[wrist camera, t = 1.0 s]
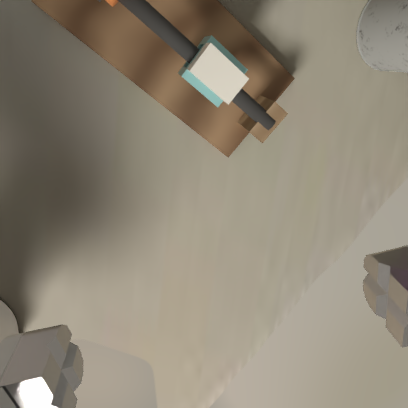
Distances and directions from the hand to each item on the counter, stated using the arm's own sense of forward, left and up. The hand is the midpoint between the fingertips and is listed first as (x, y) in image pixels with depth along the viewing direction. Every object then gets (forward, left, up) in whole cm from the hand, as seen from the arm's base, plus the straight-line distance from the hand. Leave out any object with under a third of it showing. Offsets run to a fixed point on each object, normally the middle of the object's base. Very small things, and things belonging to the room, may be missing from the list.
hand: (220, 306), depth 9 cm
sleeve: (+6, -1, -30) cm, 31 cm away
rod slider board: (+6, +3, -34) cm, 35 cm away
